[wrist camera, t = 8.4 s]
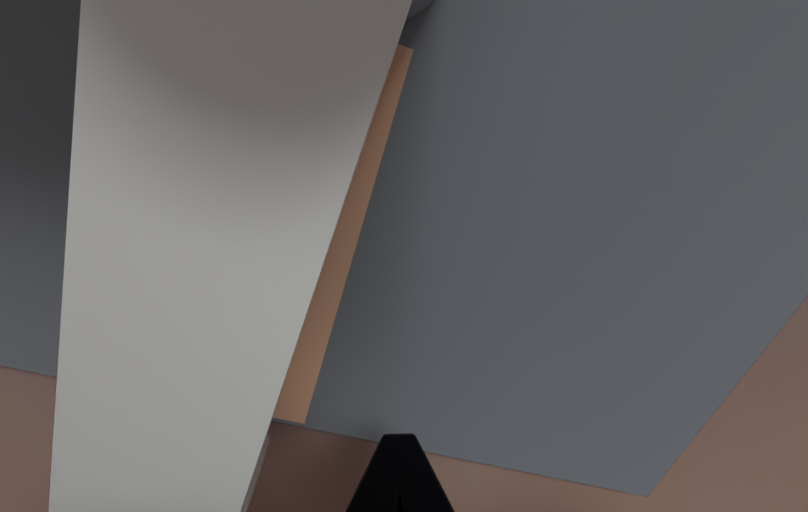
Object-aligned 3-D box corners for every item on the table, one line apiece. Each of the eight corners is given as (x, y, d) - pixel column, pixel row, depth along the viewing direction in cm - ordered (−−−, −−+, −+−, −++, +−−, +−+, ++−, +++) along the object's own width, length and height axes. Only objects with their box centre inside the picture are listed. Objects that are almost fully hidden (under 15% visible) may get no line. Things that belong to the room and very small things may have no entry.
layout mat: (-648, -912, 4) (-758, -1019, 4) (1040, -29, 8) (1075, -35, 8) (-235, 305, 10) (-262, 314, 10) (640, 485, 14) (648, 498, 14)
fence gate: (313, 15, 8) (-206, -464, 1) (402, 53, 8) (477, -112, 1) (201, 451, 12) (-35, 916, 5) (261, 465, 12) (111, 920, 6)
